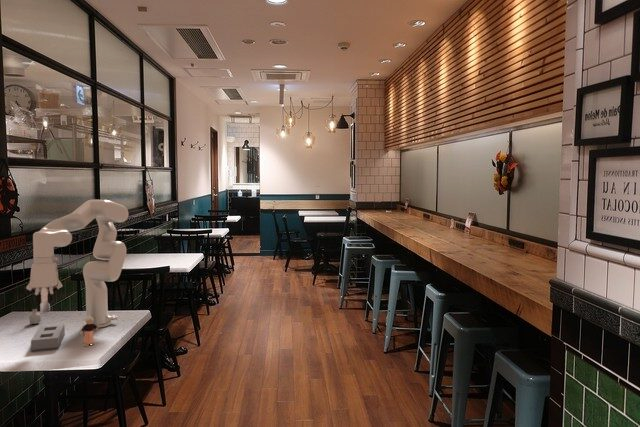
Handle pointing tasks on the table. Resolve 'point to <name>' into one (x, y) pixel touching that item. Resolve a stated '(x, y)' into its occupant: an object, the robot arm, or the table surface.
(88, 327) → the grandmother figurine
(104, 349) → the table surface
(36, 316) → the reed diffuser
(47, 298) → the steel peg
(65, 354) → the table surface
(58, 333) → the hole block
